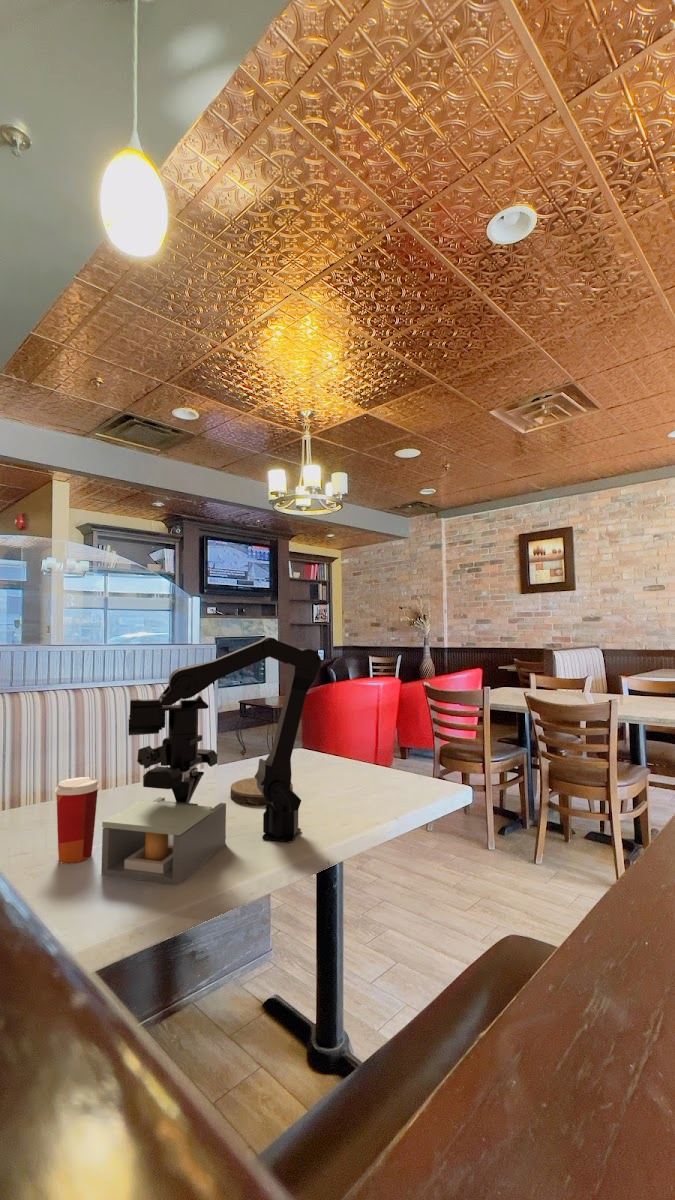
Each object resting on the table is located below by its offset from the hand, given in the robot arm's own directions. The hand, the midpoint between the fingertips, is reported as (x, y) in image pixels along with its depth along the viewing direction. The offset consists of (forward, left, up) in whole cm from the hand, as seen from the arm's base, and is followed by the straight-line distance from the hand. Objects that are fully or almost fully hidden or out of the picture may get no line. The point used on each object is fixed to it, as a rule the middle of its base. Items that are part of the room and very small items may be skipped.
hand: (182, 811), depth 106 cm
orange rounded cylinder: (0, +9, -6) cm, 11 cm away
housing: (0, +5, -7) cm, 9 cm away
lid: (0, +8, -1) cm, 8 cm away
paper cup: (+17, +9, -7) cm, 21 cm away
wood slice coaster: (-3, -35, -8) cm, 36 cm away
